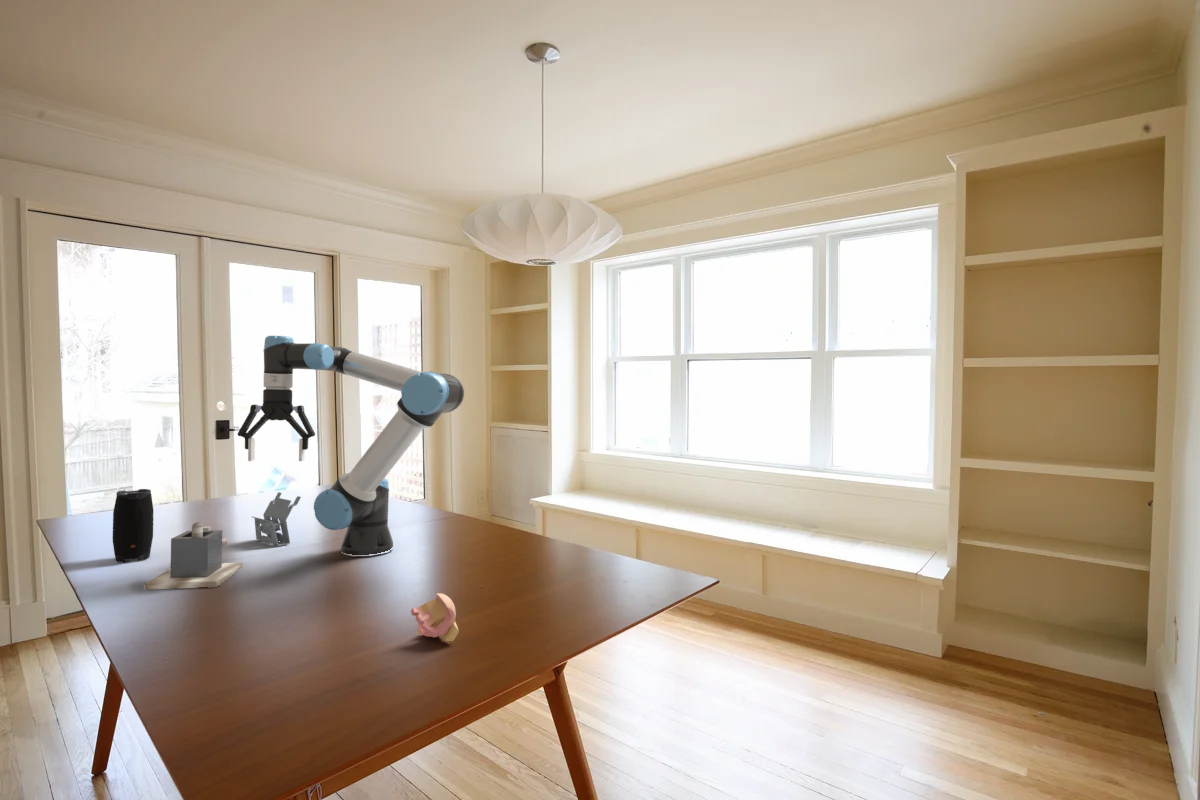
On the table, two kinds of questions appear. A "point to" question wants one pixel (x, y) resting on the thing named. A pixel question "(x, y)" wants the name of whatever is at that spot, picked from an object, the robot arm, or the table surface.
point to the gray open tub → (196, 554)
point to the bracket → (275, 521)
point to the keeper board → (211, 581)
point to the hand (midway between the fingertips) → (276, 460)
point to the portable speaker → (133, 525)
